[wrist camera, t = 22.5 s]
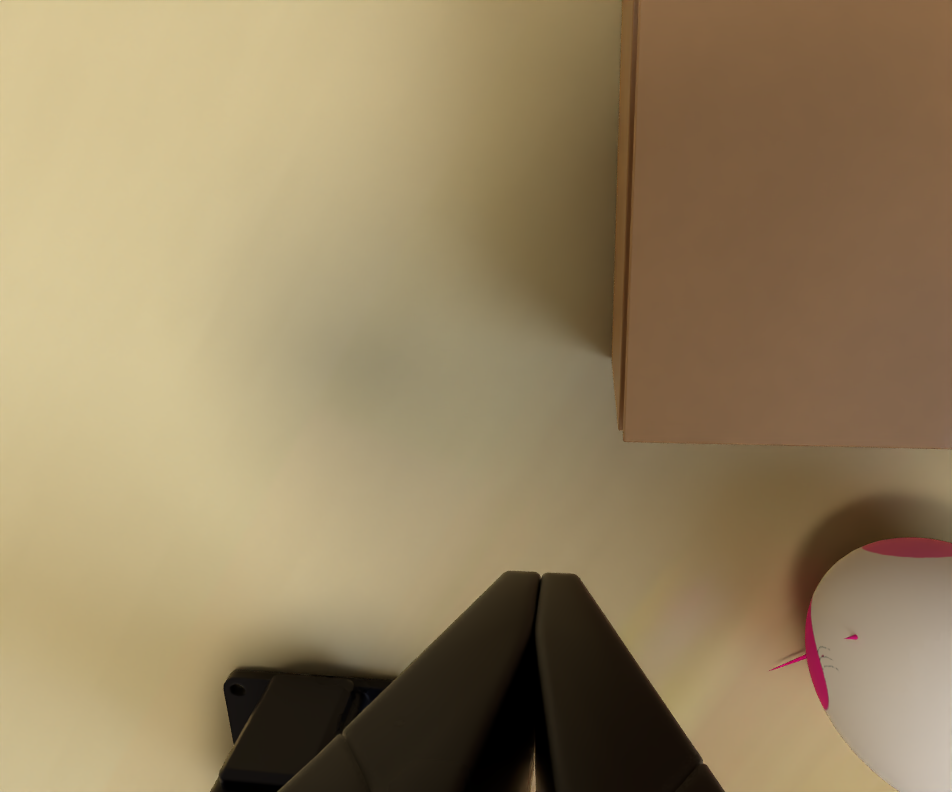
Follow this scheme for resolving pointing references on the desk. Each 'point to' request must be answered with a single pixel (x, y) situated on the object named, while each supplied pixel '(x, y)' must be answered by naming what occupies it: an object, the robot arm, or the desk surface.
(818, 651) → the stress ball
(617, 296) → the carton
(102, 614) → the desk surface
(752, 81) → the flap
